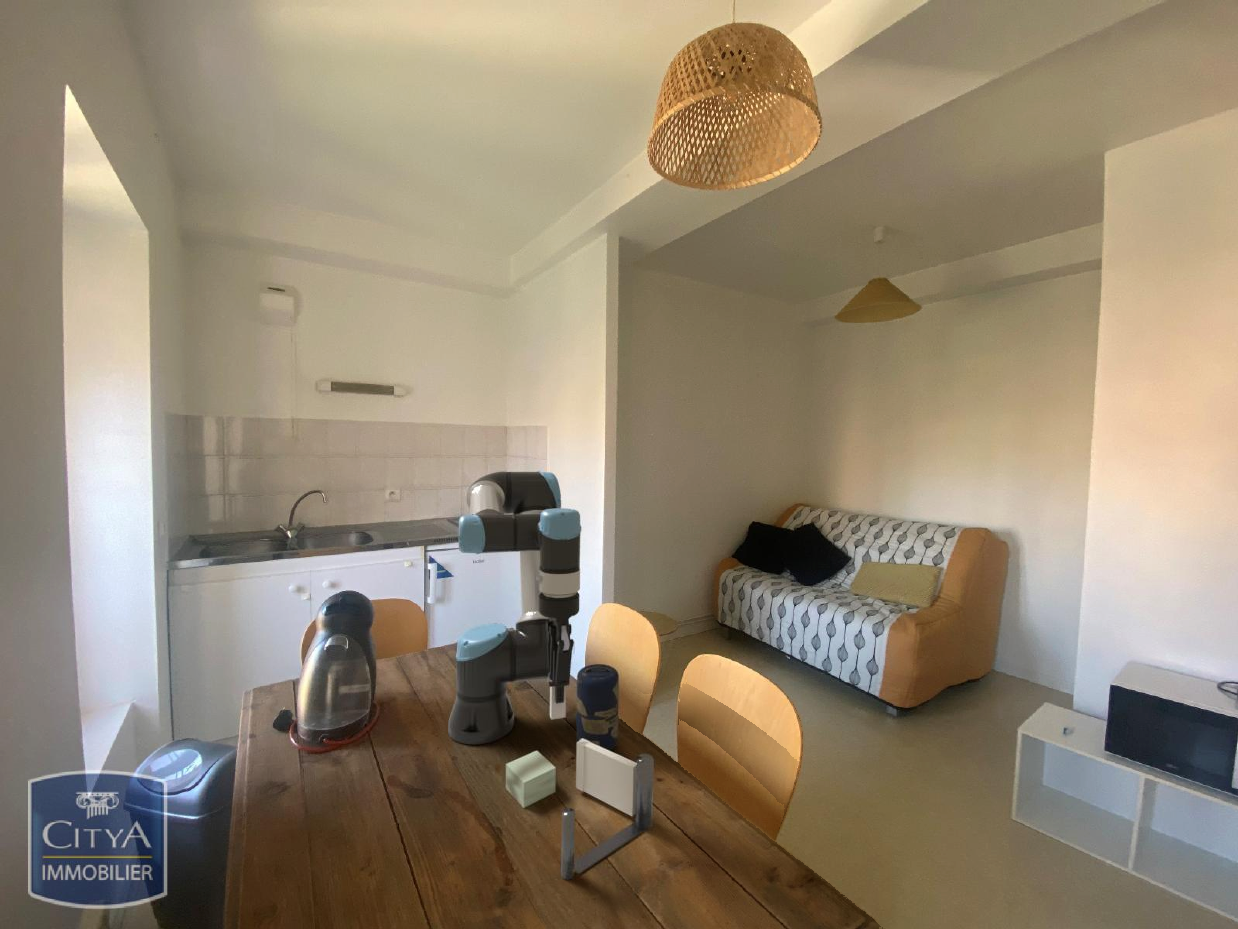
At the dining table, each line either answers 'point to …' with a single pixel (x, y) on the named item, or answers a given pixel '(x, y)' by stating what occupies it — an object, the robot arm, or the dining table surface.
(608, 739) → the canister
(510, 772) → the pale green block
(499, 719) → the robot arm
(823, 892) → the dining table surface
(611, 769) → the gate
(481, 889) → the dining table surface
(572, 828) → the gate frame
